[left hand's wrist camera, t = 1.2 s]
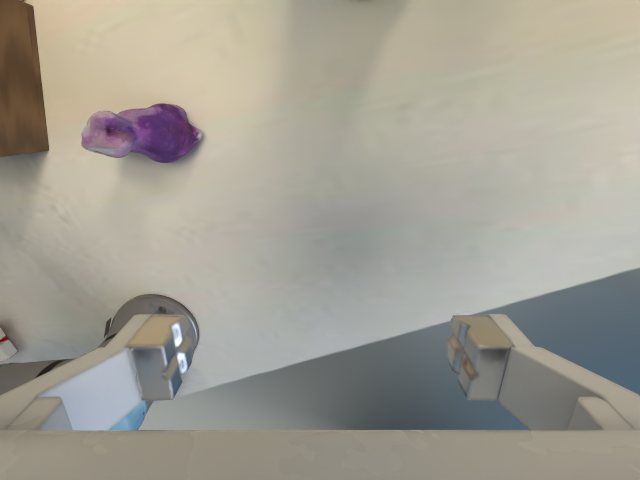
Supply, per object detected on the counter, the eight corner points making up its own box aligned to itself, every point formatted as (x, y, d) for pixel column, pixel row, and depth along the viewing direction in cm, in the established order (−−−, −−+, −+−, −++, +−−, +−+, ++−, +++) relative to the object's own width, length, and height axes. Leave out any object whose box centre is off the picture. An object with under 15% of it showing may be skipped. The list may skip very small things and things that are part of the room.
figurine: (117, 133, 51) (41, 140, 37) (160, 83, 49) (96, 72, 35) (166, 179, 54) (112, 202, 40) (209, 134, 51) (168, 142, 37)
